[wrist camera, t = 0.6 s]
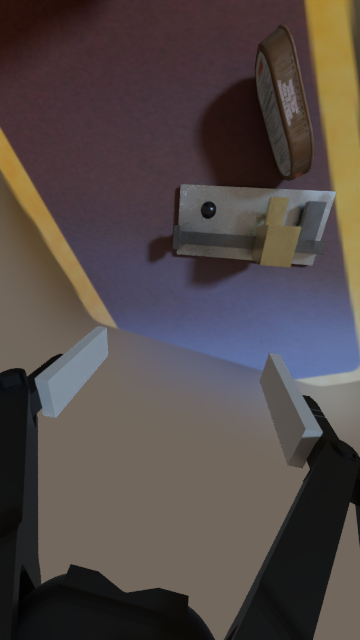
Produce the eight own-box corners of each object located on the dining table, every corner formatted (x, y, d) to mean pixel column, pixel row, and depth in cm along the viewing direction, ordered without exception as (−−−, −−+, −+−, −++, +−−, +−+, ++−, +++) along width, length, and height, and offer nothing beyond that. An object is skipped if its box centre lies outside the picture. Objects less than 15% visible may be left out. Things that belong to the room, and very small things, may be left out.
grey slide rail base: (179, 196, 34) (175, 191, 30) (332, 204, 32) (350, 200, 27) (177, 247, 37) (172, 249, 33) (314, 258, 35) (328, 261, 31)
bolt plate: (181, 185, 34) (180, 184, 33) (332, 192, 32) (336, 191, 31) (177, 253, 39) (176, 254, 38) (309, 264, 36) (312, 265, 35)
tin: (298, 178, 32) (325, 161, 24) (277, 189, 33) (297, 176, 25) (269, 59, 27) (292, -8, 20) (246, 76, 28) (259, 18, 20)
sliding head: (259, 200, 32) (276, 189, 24) (285, 201, 32) (311, 191, 24) (248, 257, 36) (259, 264, 28) (272, 259, 36) (290, 267, 27)
